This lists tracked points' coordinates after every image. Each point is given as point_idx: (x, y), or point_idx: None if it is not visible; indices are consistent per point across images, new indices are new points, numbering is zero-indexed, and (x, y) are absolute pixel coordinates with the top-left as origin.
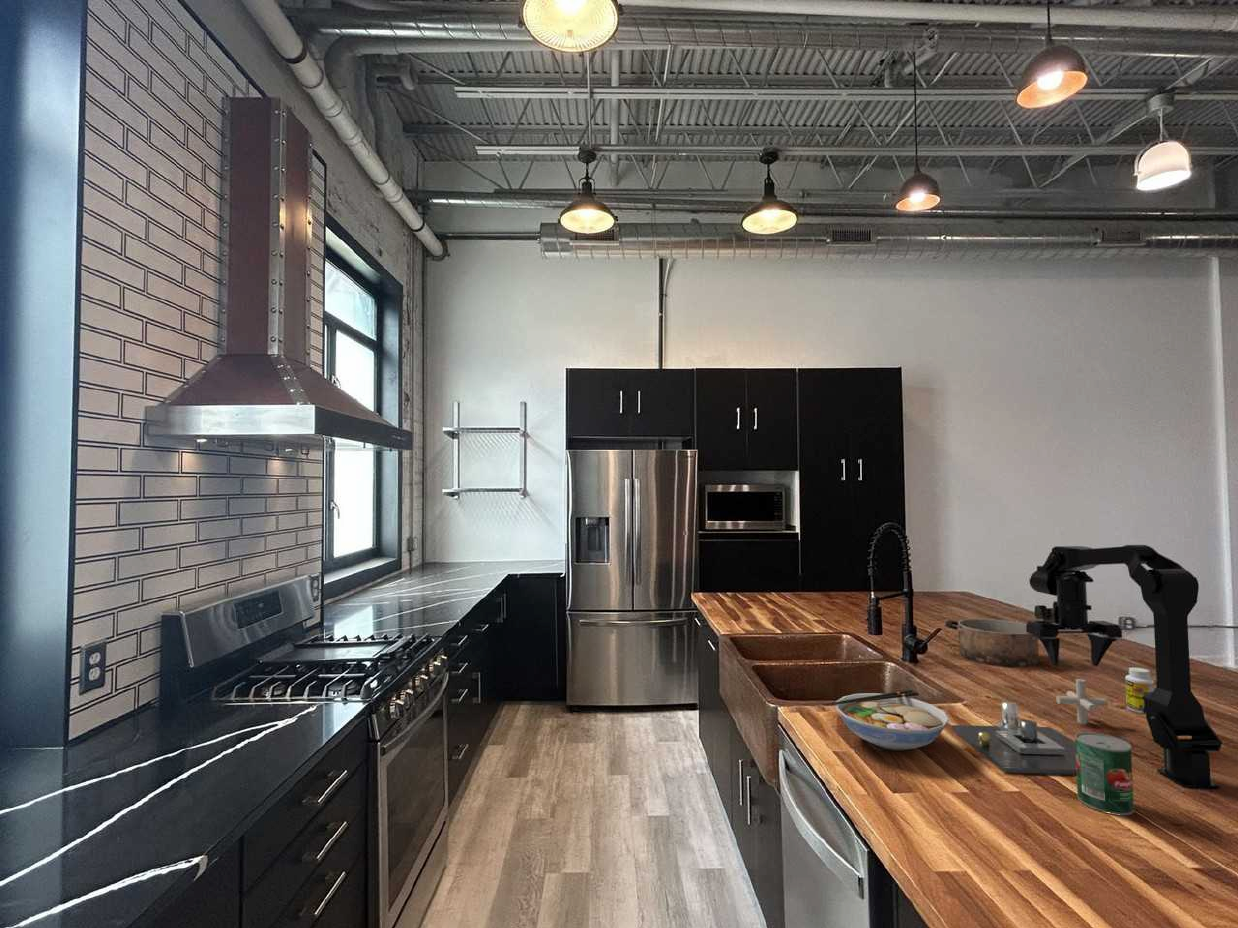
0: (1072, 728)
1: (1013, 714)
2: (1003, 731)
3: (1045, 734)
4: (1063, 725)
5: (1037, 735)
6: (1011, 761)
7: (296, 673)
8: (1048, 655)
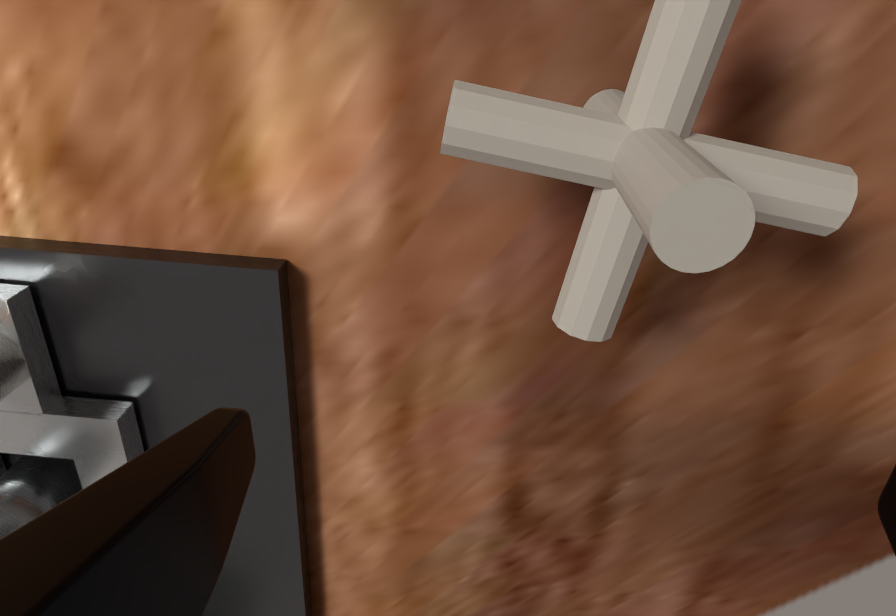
0: (459, 213)
1: None
2: None
3: (192, 365)
4: (437, 162)
5: (93, 460)
6: None
7: None
8: (75, 496)
